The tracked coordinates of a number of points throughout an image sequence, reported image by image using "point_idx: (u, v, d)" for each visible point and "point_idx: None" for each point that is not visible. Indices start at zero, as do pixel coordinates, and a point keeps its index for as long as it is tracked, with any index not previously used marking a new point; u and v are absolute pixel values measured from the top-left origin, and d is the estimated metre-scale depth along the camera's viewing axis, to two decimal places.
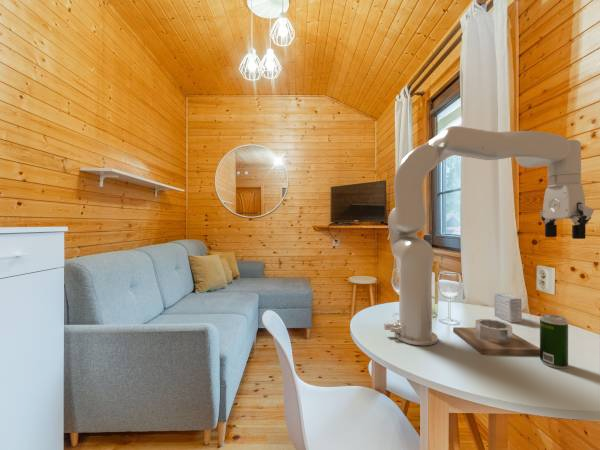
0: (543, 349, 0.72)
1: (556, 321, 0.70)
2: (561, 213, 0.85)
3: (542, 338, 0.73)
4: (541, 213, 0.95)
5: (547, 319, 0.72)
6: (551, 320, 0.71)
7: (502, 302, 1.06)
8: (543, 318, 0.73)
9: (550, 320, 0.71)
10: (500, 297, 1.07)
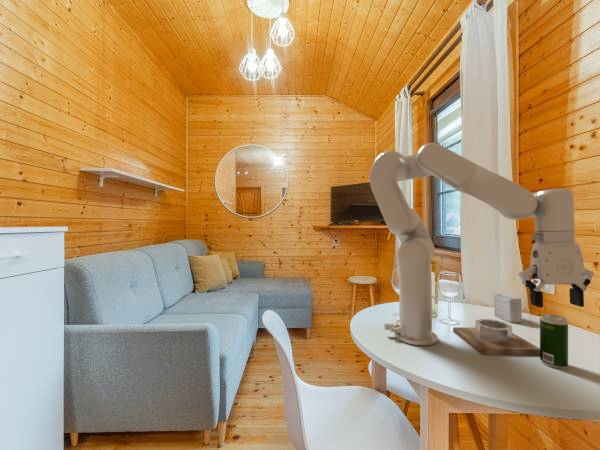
0: (543, 349, 0.72)
1: (556, 321, 0.70)
2: (576, 278, 0.69)
3: (542, 338, 0.73)
4: (525, 276, 0.72)
5: (547, 319, 0.72)
6: (551, 320, 0.71)
7: (502, 302, 1.06)
8: (543, 318, 0.73)
9: (550, 320, 0.71)
10: (500, 297, 1.07)
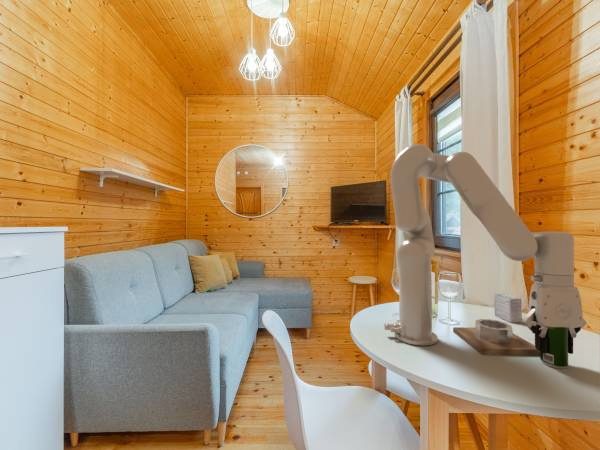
0: None
1: None
2: (573, 322, 0.70)
3: None
4: (528, 323, 0.72)
5: None
6: None
7: (502, 302, 1.06)
8: None
9: None
10: (500, 297, 1.07)
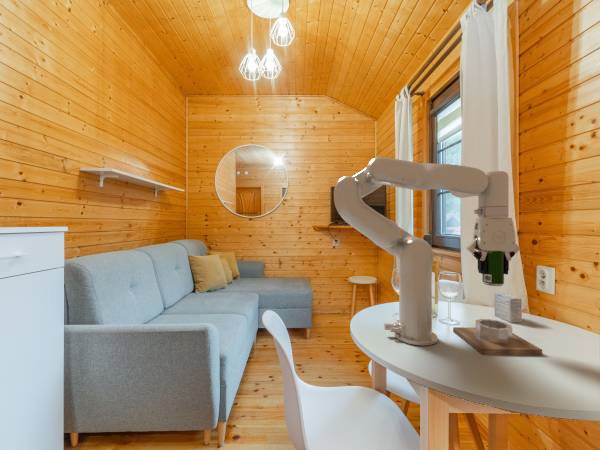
0: None
1: None
2: (507, 246, 0.83)
3: None
4: (471, 249, 0.85)
5: None
6: None
7: (502, 302, 1.06)
8: None
9: None
10: (500, 297, 1.07)
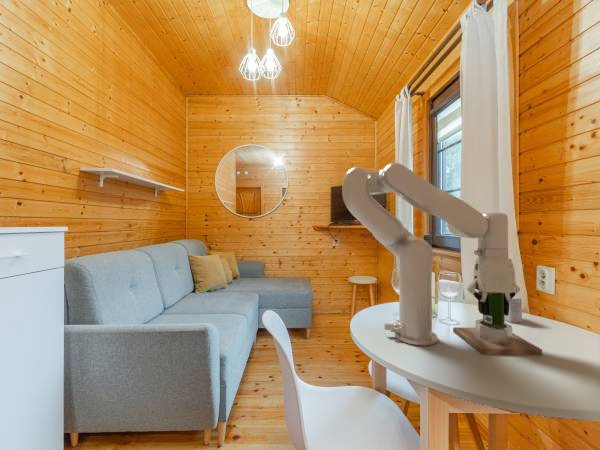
0: None
1: None
2: (508, 288, 0.83)
3: None
4: (471, 290, 0.85)
5: None
6: None
7: None
8: None
9: None
10: None
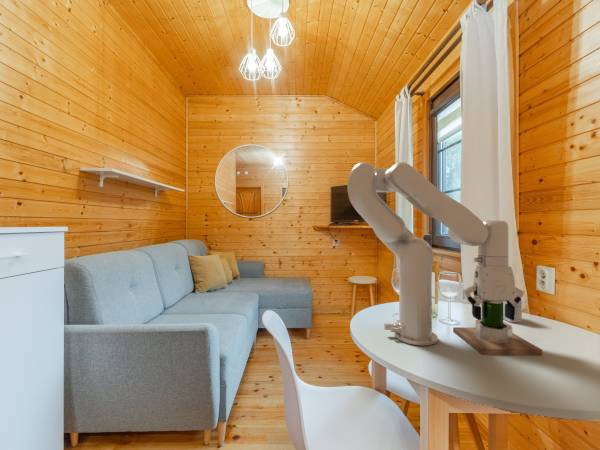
0: (483, 324, 0.86)
1: None
2: (507, 296, 0.83)
3: (482, 315, 0.86)
4: (467, 293, 0.86)
5: None
6: None
7: None
8: None
9: None
10: None
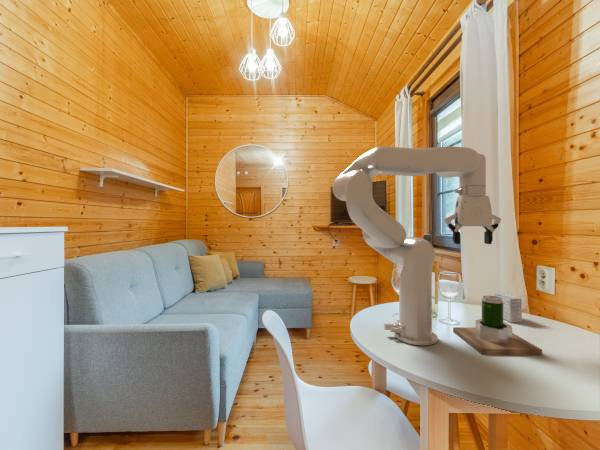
0: (483, 324, 0.86)
1: (493, 300, 0.84)
2: (484, 221, 0.92)
3: (482, 315, 0.86)
4: (448, 220, 0.95)
5: (486, 299, 0.85)
6: (489, 299, 0.84)
7: None
8: (483, 298, 0.86)
9: (488, 300, 0.84)
10: (500, 297, 1.07)
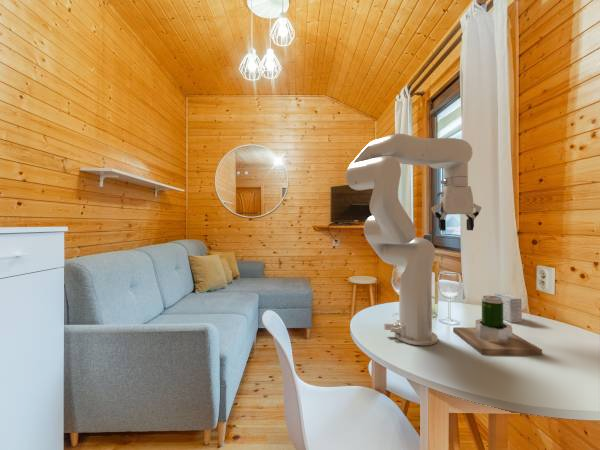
0: (483, 324, 0.86)
1: (493, 300, 0.84)
2: (467, 209, 1.01)
3: (482, 315, 0.86)
4: (434, 209, 1.03)
5: (486, 299, 0.85)
6: (489, 300, 0.84)
7: None
8: (483, 298, 0.86)
9: (488, 300, 0.84)
10: (500, 297, 1.07)
